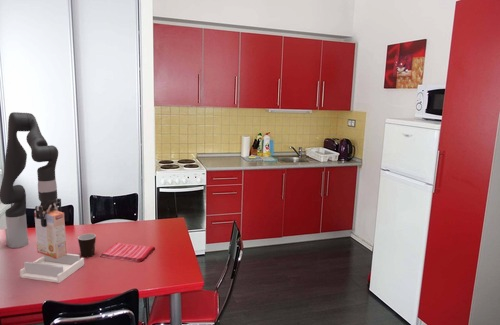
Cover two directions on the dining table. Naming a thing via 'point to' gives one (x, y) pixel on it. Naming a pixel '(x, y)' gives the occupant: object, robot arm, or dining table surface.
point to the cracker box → (51, 235)
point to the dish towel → (128, 252)
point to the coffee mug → (87, 244)
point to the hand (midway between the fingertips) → (50, 223)
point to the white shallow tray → (52, 268)
